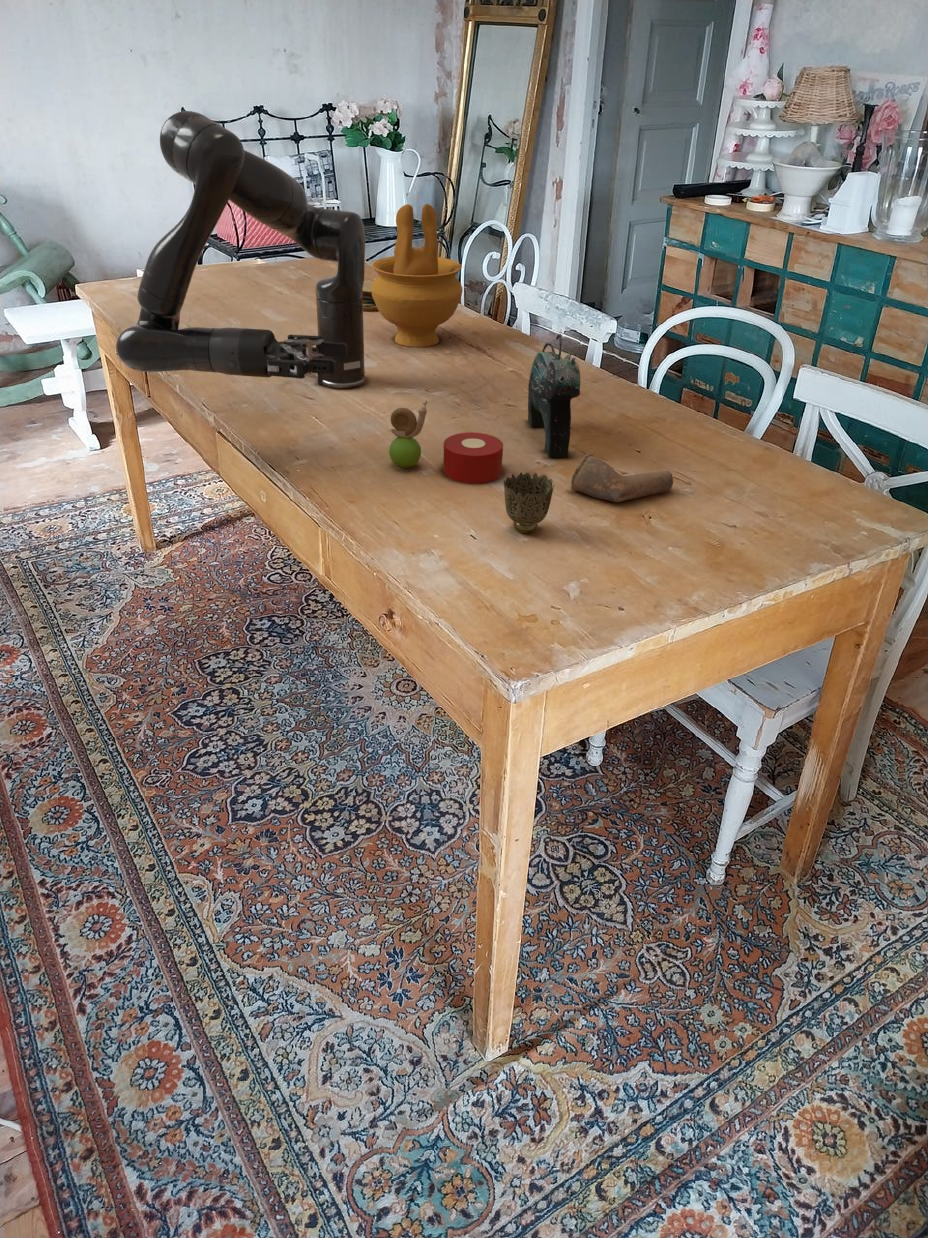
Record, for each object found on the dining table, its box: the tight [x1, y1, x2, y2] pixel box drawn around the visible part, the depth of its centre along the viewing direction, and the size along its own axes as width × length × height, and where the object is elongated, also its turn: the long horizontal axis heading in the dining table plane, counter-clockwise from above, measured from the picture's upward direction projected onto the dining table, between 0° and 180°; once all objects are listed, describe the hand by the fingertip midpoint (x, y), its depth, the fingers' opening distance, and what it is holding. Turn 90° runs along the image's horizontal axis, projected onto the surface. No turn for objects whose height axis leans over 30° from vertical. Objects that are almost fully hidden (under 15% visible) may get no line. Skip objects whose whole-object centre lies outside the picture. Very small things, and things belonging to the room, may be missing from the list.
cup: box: [503, 471, 555, 535], centre depth 140 cm, size 8×7×8 cm
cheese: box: [442, 431, 504, 484], centre depth 158 cm, size 10×10×5 cm
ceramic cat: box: [527, 333, 581, 459], centre depth 167 cm, size 20×6×20 cm, turn 9°
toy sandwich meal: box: [363, 279, 379, 312], centre depth 244 cm, size 12×14×5 cm
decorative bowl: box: [371, 203, 463, 348], centre depth 213 cm, size 21×21×30 cm
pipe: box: [570, 453, 674, 503], centre depth 153 cm, size 6×17×10 cm
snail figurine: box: [388, 400, 428, 469], centre depth 157 cm, size 5×6×12 cm
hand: (341, 358), depth 151 cm, fingers open, 8 cm apart
